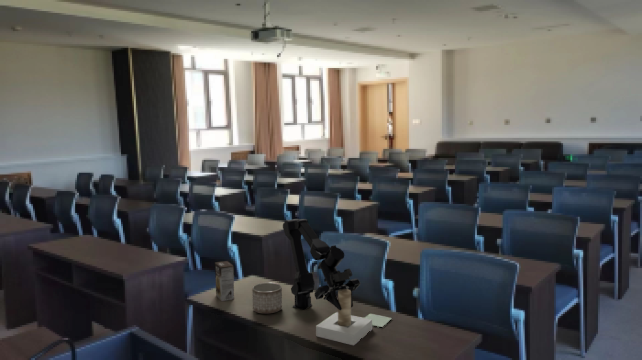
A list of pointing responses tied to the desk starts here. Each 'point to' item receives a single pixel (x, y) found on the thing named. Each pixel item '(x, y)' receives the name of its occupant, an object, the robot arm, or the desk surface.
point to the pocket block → (344, 329)
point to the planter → (267, 297)
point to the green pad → (378, 320)
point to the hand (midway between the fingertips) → (346, 308)
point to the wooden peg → (344, 307)
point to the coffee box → (224, 280)
